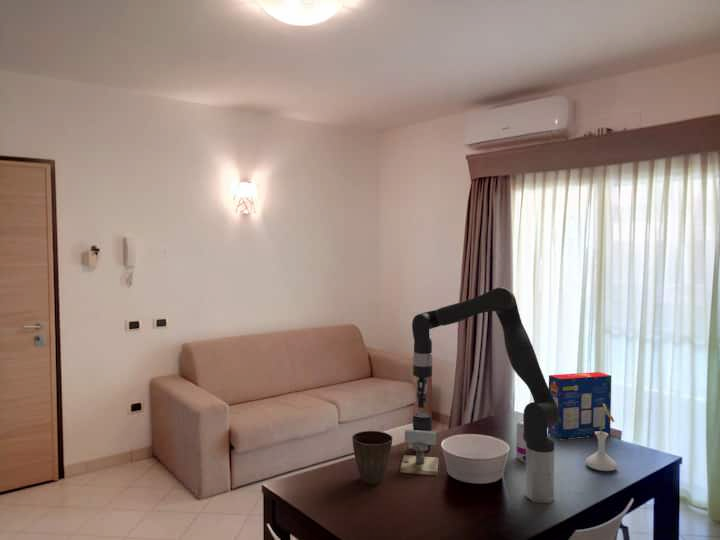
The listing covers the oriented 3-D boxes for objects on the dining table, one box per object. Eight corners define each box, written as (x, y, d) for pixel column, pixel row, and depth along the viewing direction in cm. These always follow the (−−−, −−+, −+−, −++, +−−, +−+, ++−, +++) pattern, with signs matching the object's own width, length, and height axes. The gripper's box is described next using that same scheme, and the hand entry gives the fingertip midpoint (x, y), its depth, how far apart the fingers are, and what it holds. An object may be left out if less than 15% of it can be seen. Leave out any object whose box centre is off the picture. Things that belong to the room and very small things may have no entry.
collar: (435, 447, 209) (436, 430, 209) (435, 452, 203) (435, 435, 203) (405, 445, 211) (405, 428, 211) (404, 450, 205) (404, 432, 205)
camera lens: (431, 446, 230) (431, 412, 229) (431, 453, 222) (432, 418, 221) (412, 445, 230) (412, 411, 230) (412, 452, 222) (412, 417, 222)
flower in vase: (613, 476, 199) (614, 411, 199) (581, 469, 206) (583, 405, 205) (620, 465, 210) (621, 403, 209) (590, 459, 216) (591, 398, 216)
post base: (438, 461, 213) (438, 444, 213) (437, 475, 199) (437, 457, 199) (404, 458, 215) (404, 442, 215) (400, 472, 202) (400, 454, 201)
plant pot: (364, 468, 205) (365, 428, 204) (399, 477, 197) (399, 435, 197) (344, 482, 192) (344, 439, 192) (379, 492, 184) (380, 447, 184)
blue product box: (598, 429, 254) (599, 372, 253) (610, 435, 246) (611, 375, 245) (548, 434, 246) (548, 375, 246) (558, 440, 239) (559, 379, 238)
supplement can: (540, 463, 212) (540, 426, 211) (519, 462, 212) (520, 425, 212) (533, 455, 220) (534, 419, 220) (514, 455, 220) (514, 419, 220)
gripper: (430, 368, 199) (430, 410, 200) (433, 360, 213) (432, 400, 214) (411, 366, 201) (410, 409, 201) (414, 359, 215) (414, 399, 215)
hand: (422, 404), depth 208 cm, fingers open, 8 cm apart
